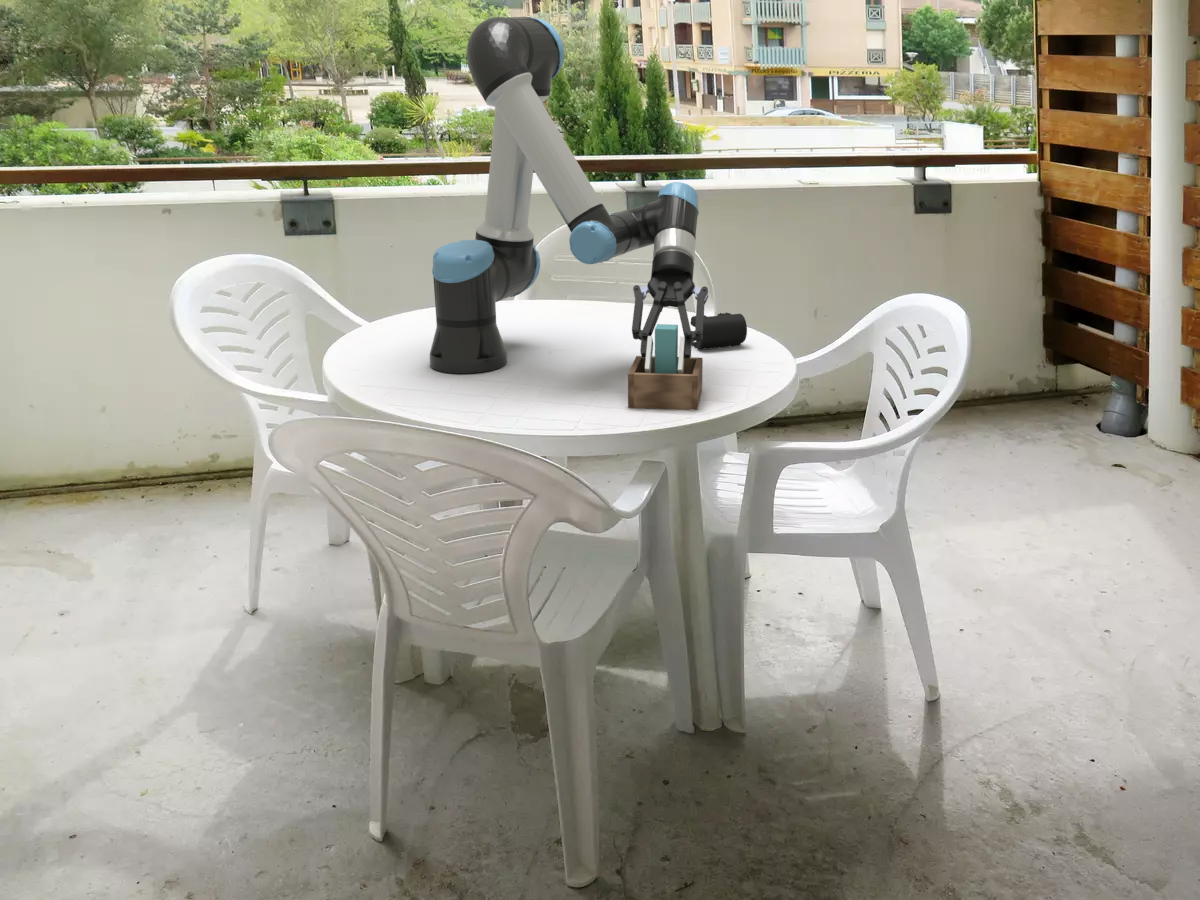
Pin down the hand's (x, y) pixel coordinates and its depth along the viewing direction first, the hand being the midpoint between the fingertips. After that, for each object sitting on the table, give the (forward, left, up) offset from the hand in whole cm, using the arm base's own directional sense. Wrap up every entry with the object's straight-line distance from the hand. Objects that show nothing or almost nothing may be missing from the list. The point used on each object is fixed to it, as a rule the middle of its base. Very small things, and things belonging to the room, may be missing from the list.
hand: (663, 372), depth 202 cm
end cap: (+7, +41, -6) cm, 42 cm away
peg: (0, +4, -6) cm, 7 cm away
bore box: (0, +4, -6) cm, 7 cm away
